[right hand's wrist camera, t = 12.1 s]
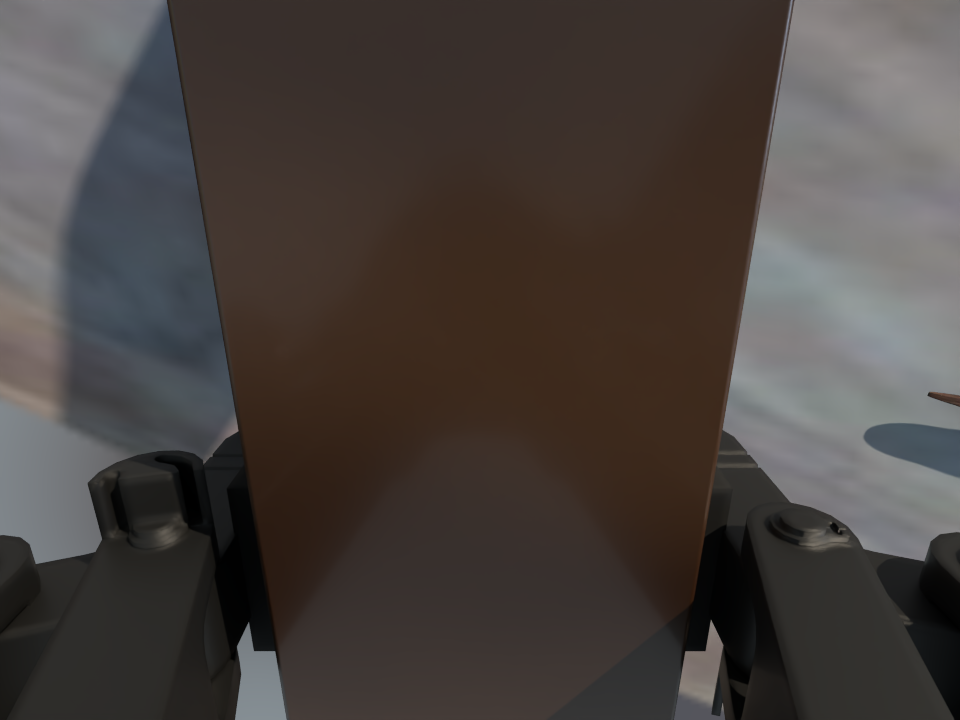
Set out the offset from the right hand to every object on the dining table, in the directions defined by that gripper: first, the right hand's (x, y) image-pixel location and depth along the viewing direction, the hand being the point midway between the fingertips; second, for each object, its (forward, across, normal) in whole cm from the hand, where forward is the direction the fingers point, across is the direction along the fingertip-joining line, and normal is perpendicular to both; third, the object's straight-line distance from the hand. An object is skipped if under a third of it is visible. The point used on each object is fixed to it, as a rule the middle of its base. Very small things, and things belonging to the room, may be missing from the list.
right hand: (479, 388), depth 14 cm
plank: (-1, 0, -11) cm, 11 cm away
